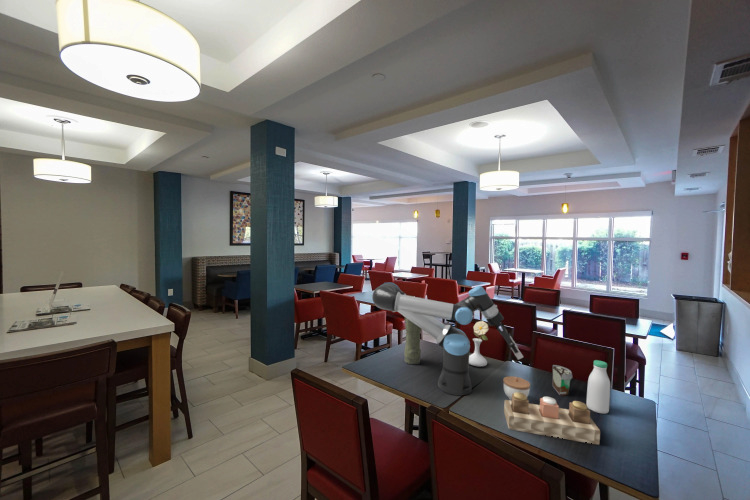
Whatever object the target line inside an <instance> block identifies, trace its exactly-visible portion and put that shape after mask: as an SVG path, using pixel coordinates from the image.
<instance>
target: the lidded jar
mask: <svg viewBox="0 0 750 500" xmlns="http://www.w3.org/2000/svg"><path fill="white" fill-rule="evenodd" d="M502 380H503V381H502V383H503V391H504V393H505V395H506V397H507V398H508V400H510V401H512V394H514V393H516V392H519V393H523V394H525V395H526V396H527V398H528V397H529V395H530V389H531V383H530V382H529V381H528V380H526V379H524V378H522V377H518V376H513V375H512V376H511V375H509V376H505V377H504V378H503V379H502Z"/></svg>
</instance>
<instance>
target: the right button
mask: <svg viewBox="0 0 750 500" xmlns="http://www.w3.org/2000/svg"><path fill="white" fill-rule="evenodd" d="M568 405H569V406H568V407H569V408H568V410H569V416H570V418H571V419H572V421H573V422H577V423H583V424H590V418H591V410H590V409H589V408H588V407H587V405H586V403H584V402H582V401H579V400H573V401H572V402H569V404H568Z"/></svg>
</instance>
